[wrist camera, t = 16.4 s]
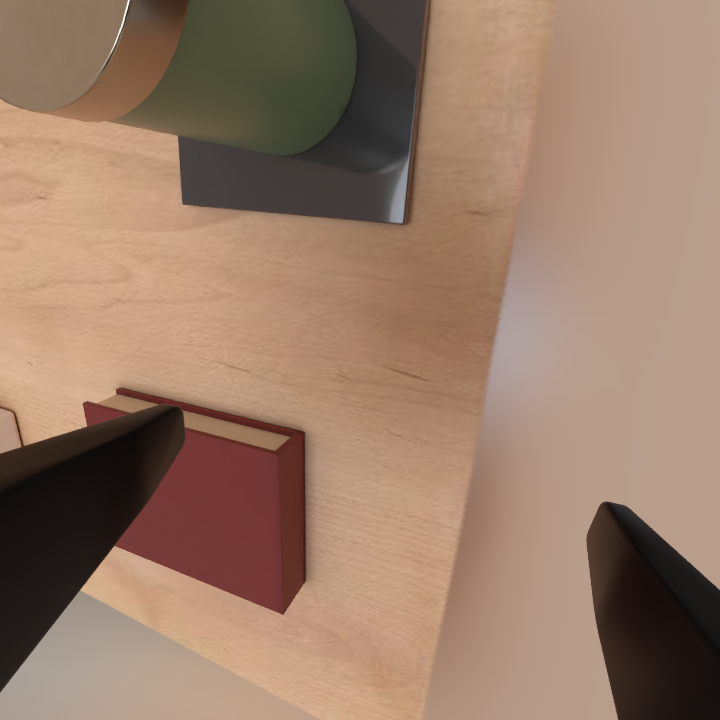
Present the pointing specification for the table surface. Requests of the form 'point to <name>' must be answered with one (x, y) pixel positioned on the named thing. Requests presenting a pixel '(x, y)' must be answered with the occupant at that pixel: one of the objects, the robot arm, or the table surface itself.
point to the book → (224, 503)
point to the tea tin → (185, 66)
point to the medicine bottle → (8, 432)
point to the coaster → (335, 137)
